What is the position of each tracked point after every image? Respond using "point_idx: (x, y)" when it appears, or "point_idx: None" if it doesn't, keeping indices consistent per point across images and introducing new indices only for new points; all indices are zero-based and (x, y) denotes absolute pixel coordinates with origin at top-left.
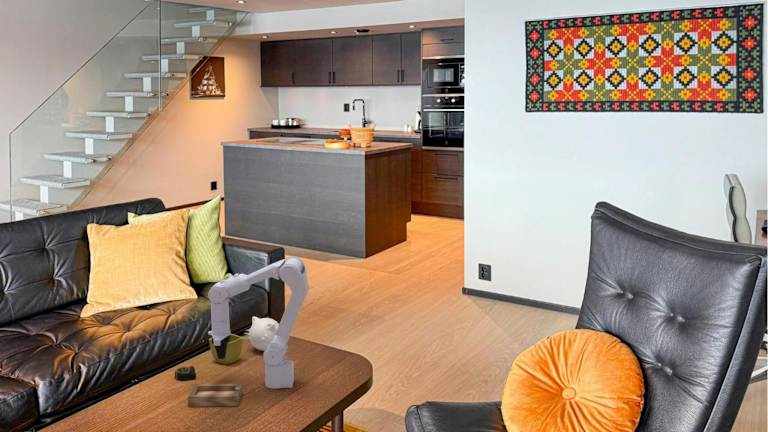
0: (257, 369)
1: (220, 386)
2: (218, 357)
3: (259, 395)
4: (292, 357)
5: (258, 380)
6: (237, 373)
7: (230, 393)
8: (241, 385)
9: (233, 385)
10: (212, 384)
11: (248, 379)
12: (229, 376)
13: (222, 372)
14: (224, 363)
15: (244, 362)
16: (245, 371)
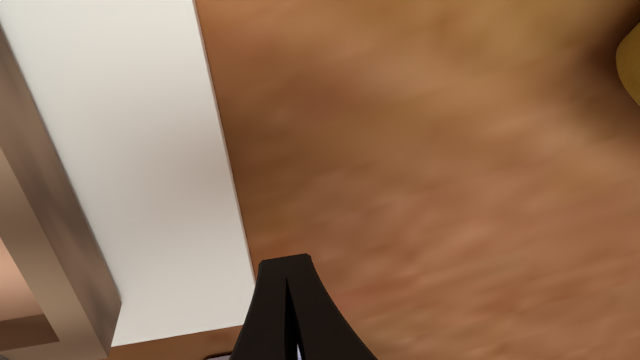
0: (504, 255)
1: (11, 247)
2: (257, 277)
3: (160, 353)
4: (624, 352)
5: (350, 300)
6: (458, 167)
7: (15, 290)
8: (90, 355)
9: (55, 325)
10: (5, 187)
11: (363, 251)
12: (411, 132)
13: (488, 60)
14: (623, 45)
15: (631, 157)
16: (484, 203)
